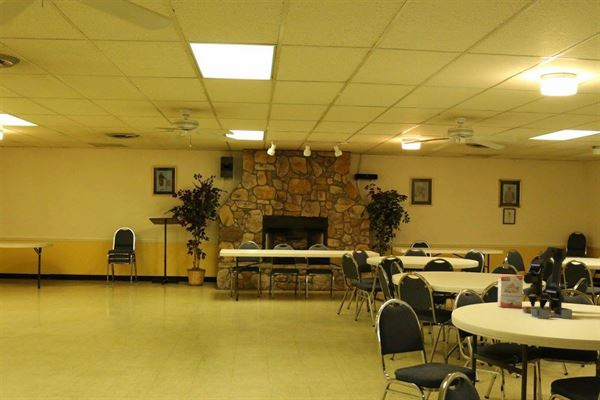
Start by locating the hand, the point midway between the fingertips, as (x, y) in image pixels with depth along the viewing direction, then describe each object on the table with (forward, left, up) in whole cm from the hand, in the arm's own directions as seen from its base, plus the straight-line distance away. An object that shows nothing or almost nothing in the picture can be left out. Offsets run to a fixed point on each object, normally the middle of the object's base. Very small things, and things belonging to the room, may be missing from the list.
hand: (537, 308), depth 339 cm
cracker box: (+6, -21, -3) cm, 22 cm away
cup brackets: (0, +15, -2) cm, 15 cm away
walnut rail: (0, 0, -3) cm, 3 cm away
